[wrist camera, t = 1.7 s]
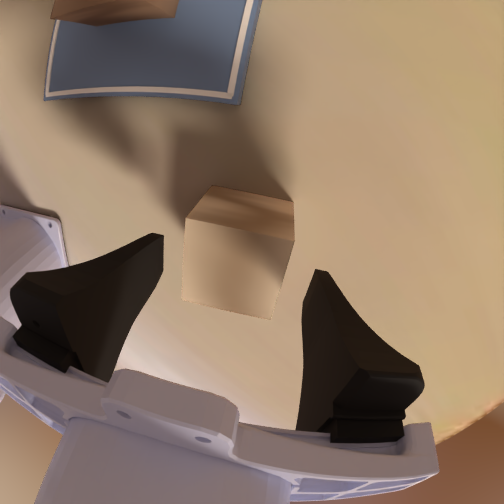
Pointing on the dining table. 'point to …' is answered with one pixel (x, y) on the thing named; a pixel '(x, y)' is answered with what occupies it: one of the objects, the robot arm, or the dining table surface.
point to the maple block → (237, 251)
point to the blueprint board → (151, 48)
